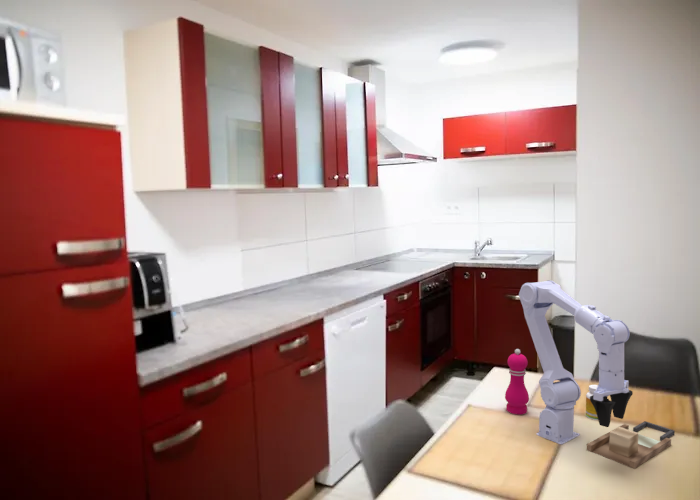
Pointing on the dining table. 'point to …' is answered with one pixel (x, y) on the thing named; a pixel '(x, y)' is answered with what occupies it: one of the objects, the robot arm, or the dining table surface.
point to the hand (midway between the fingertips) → (611, 421)
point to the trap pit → (646, 424)
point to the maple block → (623, 441)
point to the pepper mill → (517, 384)
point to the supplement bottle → (589, 406)
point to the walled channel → (645, 452)
